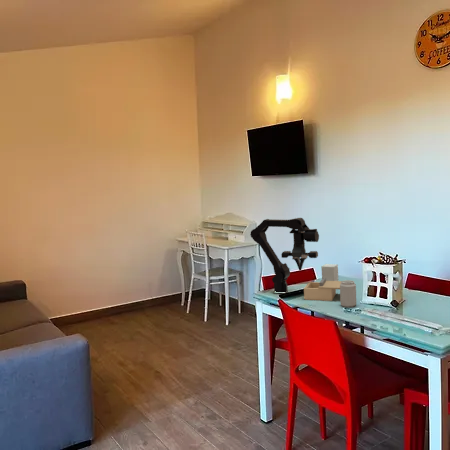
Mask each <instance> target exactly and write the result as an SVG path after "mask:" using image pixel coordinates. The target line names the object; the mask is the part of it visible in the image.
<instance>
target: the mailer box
mask: <svg viewBox="0 0 450 450" xmlns="http://www.w3.org/2000/svg"><path fill="white" fill-rule="evenodd" d="M319 286H320V281H309V282H308V283H307V284H306V285H305V286H304V287H303V297H304V300H305V301H323V302H324V301H325V302H326V301H328V302H333V300H334V298H335V296H336V295H337V289H318V287H319Z"/></svg>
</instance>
